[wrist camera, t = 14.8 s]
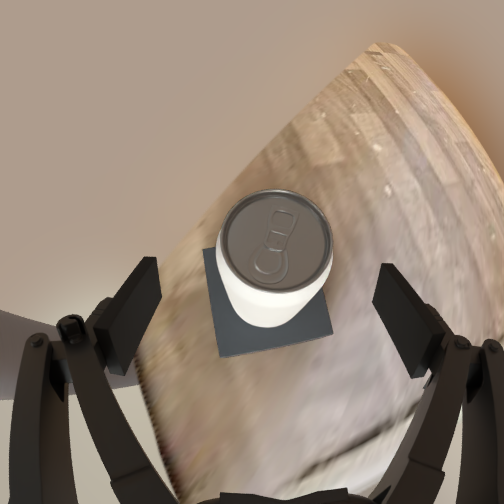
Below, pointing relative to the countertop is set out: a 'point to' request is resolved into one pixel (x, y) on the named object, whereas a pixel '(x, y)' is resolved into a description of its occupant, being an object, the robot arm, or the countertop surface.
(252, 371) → the countertop surface
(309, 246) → the can
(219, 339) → the grey block
